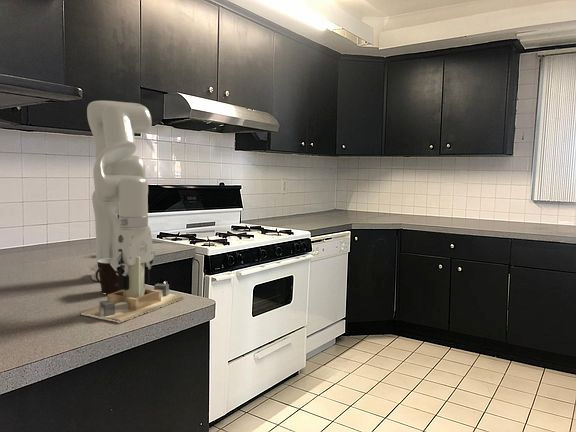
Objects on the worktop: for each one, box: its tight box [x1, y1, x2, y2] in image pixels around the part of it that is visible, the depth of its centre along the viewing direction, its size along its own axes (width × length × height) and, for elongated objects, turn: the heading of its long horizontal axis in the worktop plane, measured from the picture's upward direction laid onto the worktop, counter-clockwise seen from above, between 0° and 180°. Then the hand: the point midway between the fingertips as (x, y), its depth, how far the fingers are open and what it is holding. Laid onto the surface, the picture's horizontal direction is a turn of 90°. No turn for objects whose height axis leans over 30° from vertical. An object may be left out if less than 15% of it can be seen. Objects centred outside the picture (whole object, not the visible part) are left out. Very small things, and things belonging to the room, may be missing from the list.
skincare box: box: [123, 257, 146, 298], centre depth 131 cm, size 6×4×12 cm
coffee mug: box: [96, 258, 122, 294], centre depth 144 cm, size 12×9×10 cm
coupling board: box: [79, 283, 184, 322], centre depth 131 cm, size 14×25×4 cm, turn 155°
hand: (134, 285), depth 131 cm, fingers closed on skincare box, 7 cm apart
